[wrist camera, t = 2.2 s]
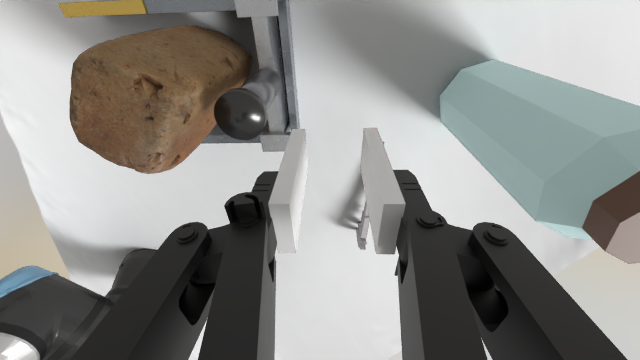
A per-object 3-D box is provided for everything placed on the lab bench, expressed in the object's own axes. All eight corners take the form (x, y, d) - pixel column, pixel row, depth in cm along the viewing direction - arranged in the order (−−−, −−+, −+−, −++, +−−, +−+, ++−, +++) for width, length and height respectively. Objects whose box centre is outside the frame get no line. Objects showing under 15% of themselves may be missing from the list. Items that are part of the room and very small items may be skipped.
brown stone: (206, 15, 30) (57, 26, 14) (261, 53, 32) (190, 101, 16) (182, 90, 35) (55, 162, 19) (231, 118, 38) (154, 204, 21)
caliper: (361, 229, 51) (364, 254, 46) (355, 229, 51) (358, 254, 46) (383, 141, 39) (391, 161, 34) (377, 140, 39) (384, 160, 34)
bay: (154, 130, 39) (132, 144, 35) (97, 3, 30) (58, 3, 25) (299, 127, 38) (295, 142, 34) (288, -5, 29) (281, -7, 24)
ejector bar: (271, 132, 38) (239, 201, 25) (249, -10, 28) (173, -25, 15) (297, 132, 38) (278, 201, 24) (284, -12, 28) (239, -28, 14)
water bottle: (424, 126, 37) (538, 272, 17) (450, 53, 31) (672, 140, 11) (489, 133, 37) (679, 285, 17) (527, 61, 32) (884, 162, 11)
